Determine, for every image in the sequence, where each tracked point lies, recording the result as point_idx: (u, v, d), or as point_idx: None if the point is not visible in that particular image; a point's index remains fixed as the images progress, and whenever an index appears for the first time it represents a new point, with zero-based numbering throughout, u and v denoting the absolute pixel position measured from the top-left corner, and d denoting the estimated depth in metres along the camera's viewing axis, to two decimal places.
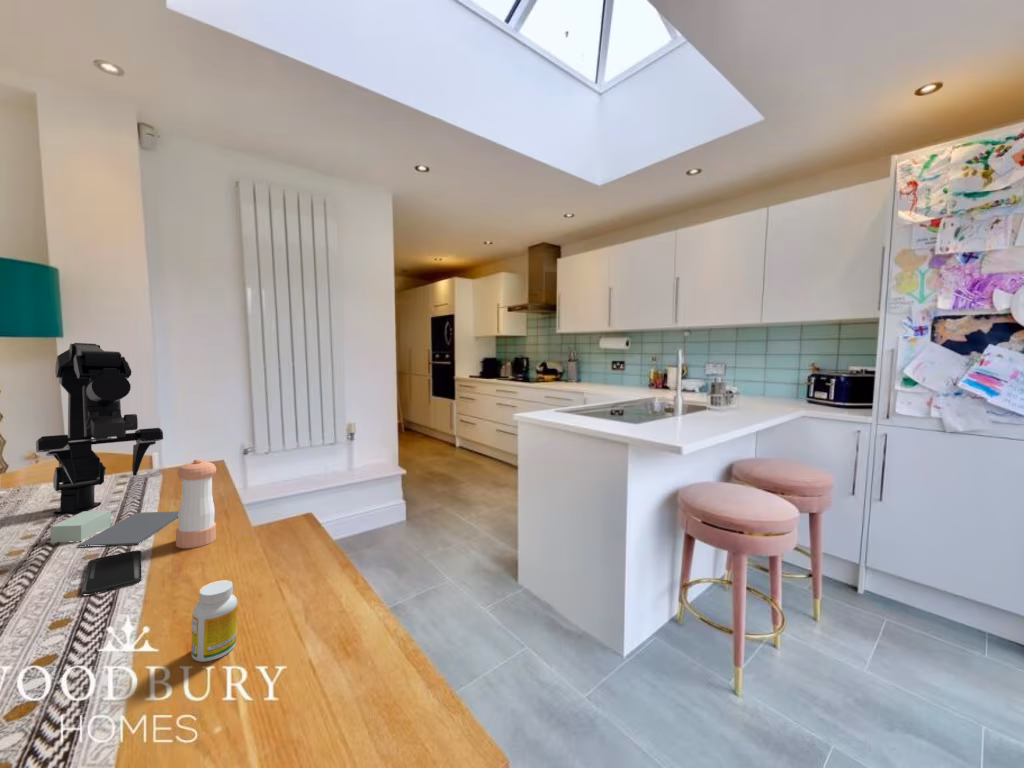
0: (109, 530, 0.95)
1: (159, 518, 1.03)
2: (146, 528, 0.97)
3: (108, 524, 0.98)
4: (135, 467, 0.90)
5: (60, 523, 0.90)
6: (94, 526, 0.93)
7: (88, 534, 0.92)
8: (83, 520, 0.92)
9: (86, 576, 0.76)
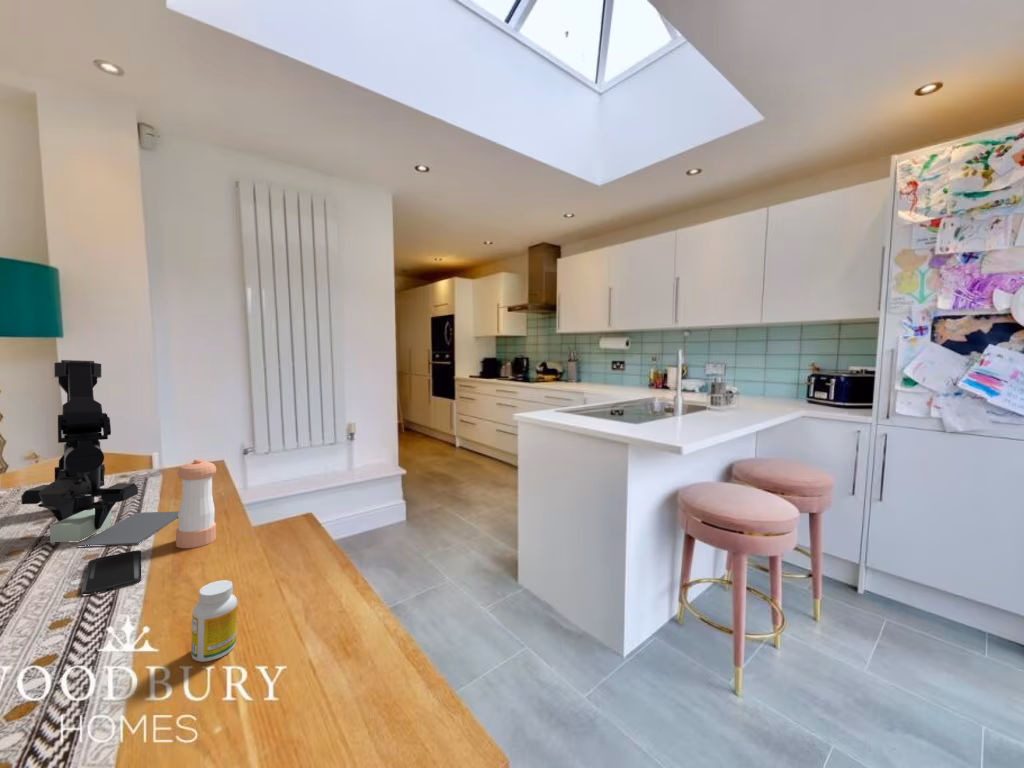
0: (109, 530, 0.95)
1: (159, 518, 1.03)
2: (146, 528, 0.97)
3: (108, 523, 0.98)
4: (95, 523, 0.93)
5: (60, 522, 0.90)
6: (93, 525, 0.93)
7: (87, 533, 0.92)
8: (83, 519, 0.92)
9: (86, 576, 0.76)
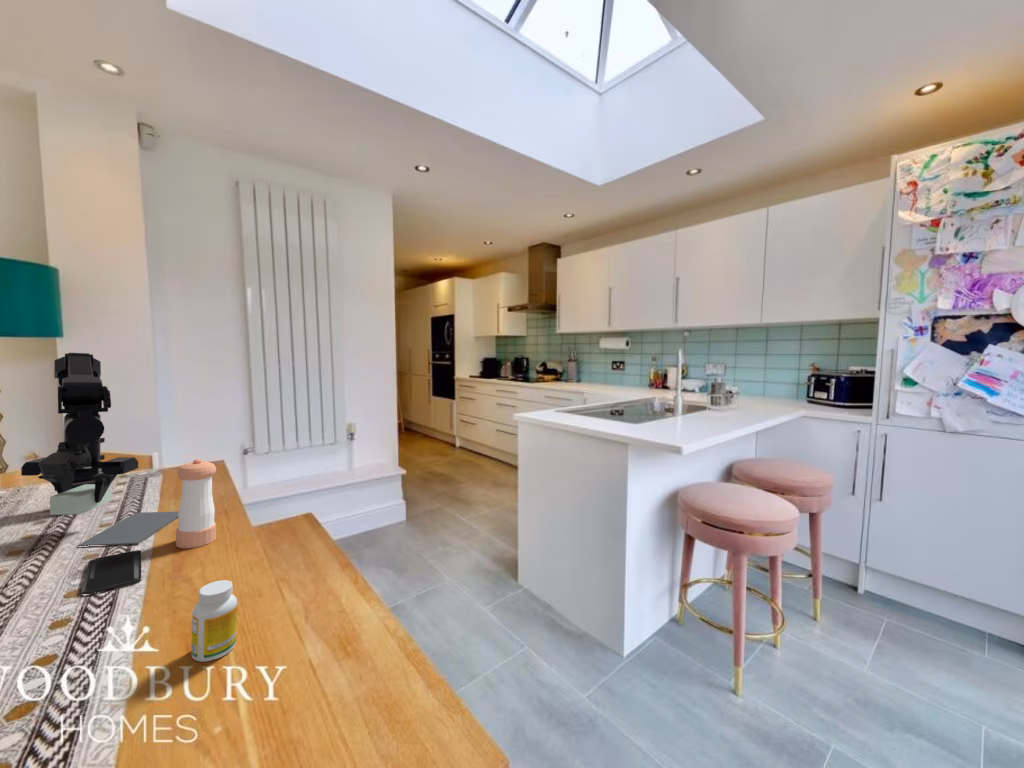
0: (109, 530, 0.95)
1: (159, 518, 1.03)
2: (146, 528, 0.97)
3: (108, 497, 0.97)
4: (95, 496, 0.93)
5: (60, 494, 0.90)
6: (94, 498, 0.93)
7: (87, 506, 0.91)
8: (83, 491, 0.92)
9: (86, 576, 0.76)
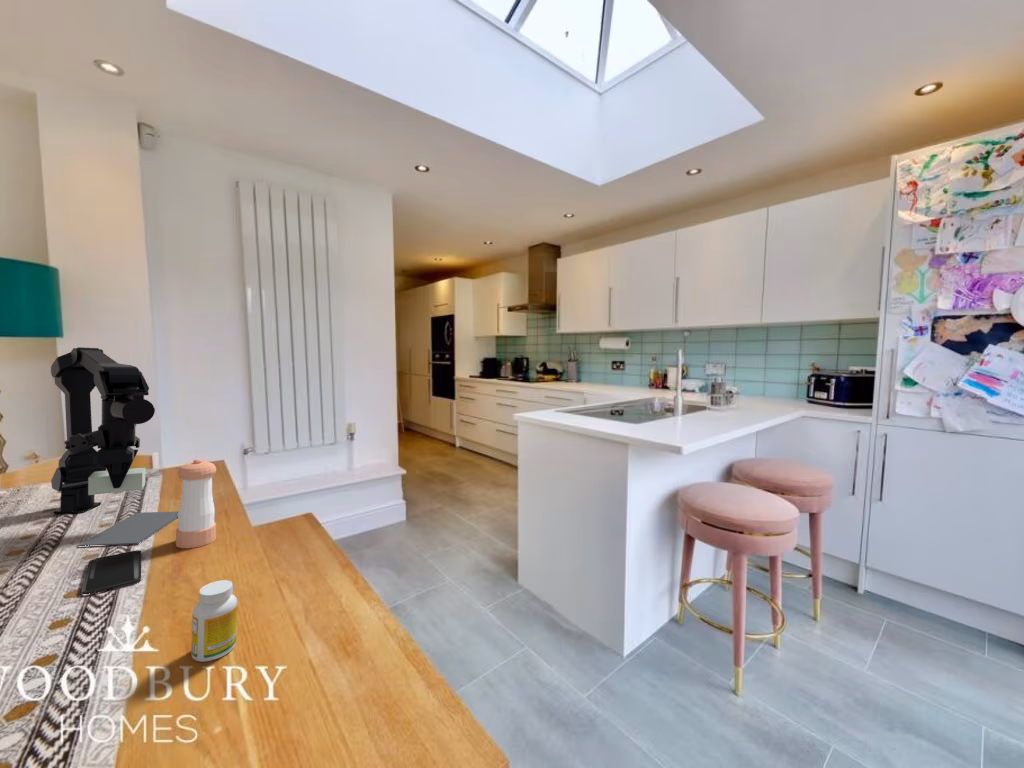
0: (109, 530, 0.95)
1: (159, 518, 1.03)
2: (146, 528, 0.97)
3: (137, 486, 0.96)
4: None
5: (102, 471, 0.95)
6: (111, 483, 0.93)
7: (101, 489, 0.92)
8: None
9: (86, 576, 0.76)
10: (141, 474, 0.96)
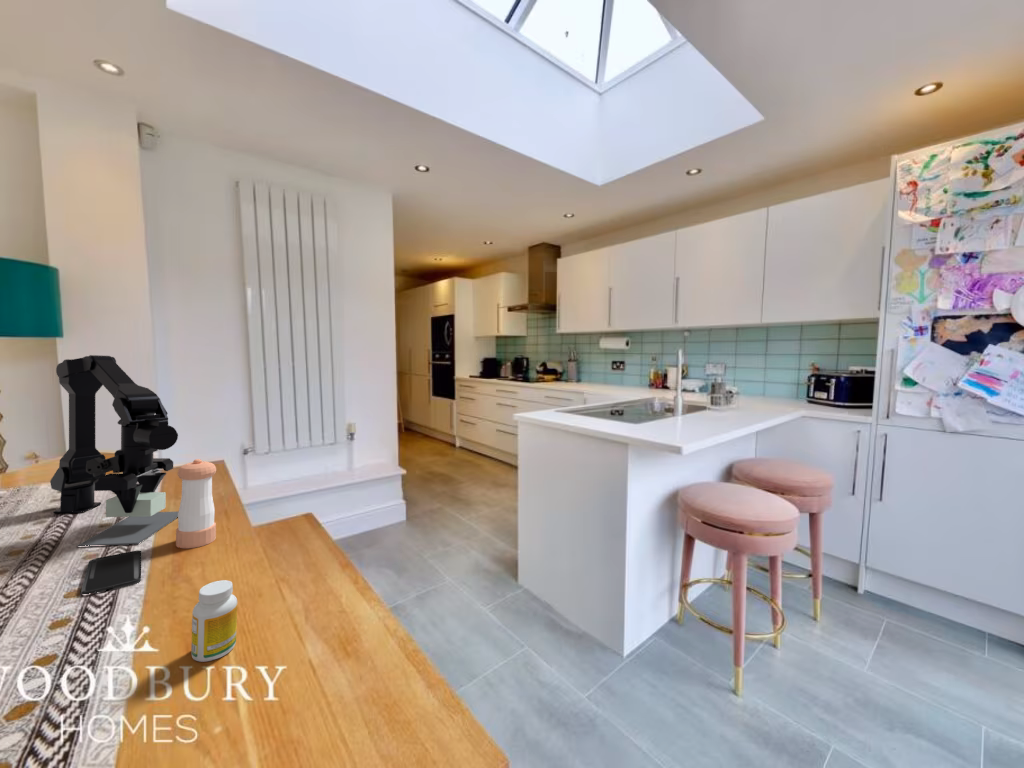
0: (109, 530, 0.95)
1: (159, 518, 1.03)
2: (146, 528, 0.97)
3: (146, 512, 0.96)
4: None
5: None
6: None
7: (116, 512, 0.94)
8: None
9: (86, 576, 0.76)
10: (150, 501, 0.96)
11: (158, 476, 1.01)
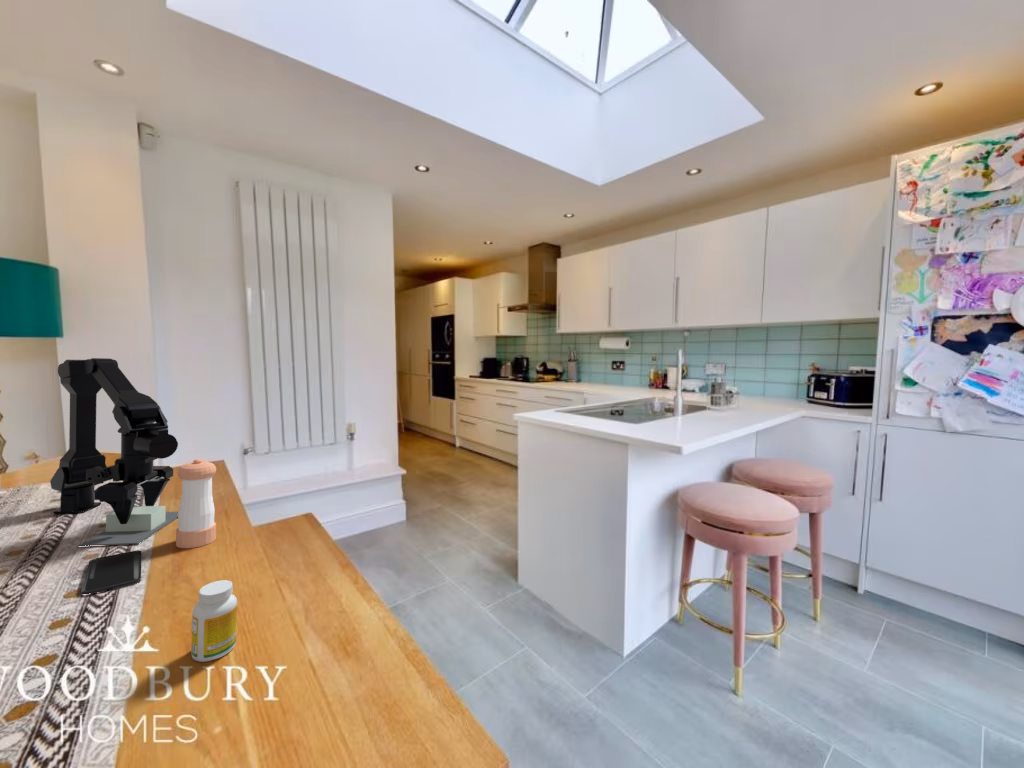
0: None
1: None
2: None
3: (146, 526, 0.96)
4: None
5: None
6: None
7: (116, 527, 0.94)
8: None
9: (86, 576, 0.76)
10: (150, 515, 0.96)
11: (162, 482, 1.03)
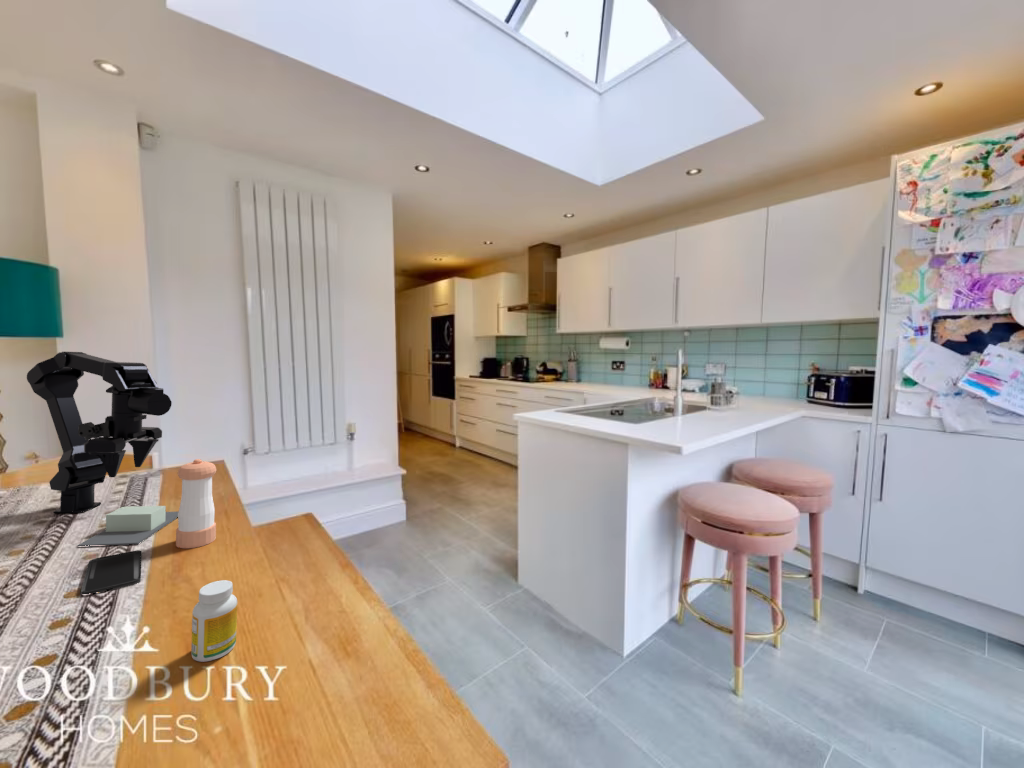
0: None
1: None
2: None
3: (146, 526, 0.96)
4: None
5: (128, 507, 0.99)
6: (125, 522, 0.95)
7: (116, 527, 0.94)
8: (127, 512, 0.96)
9: (86, 576, 0.76)
10: (150, 515, 0.96)
11: (151, 442, 1.09)
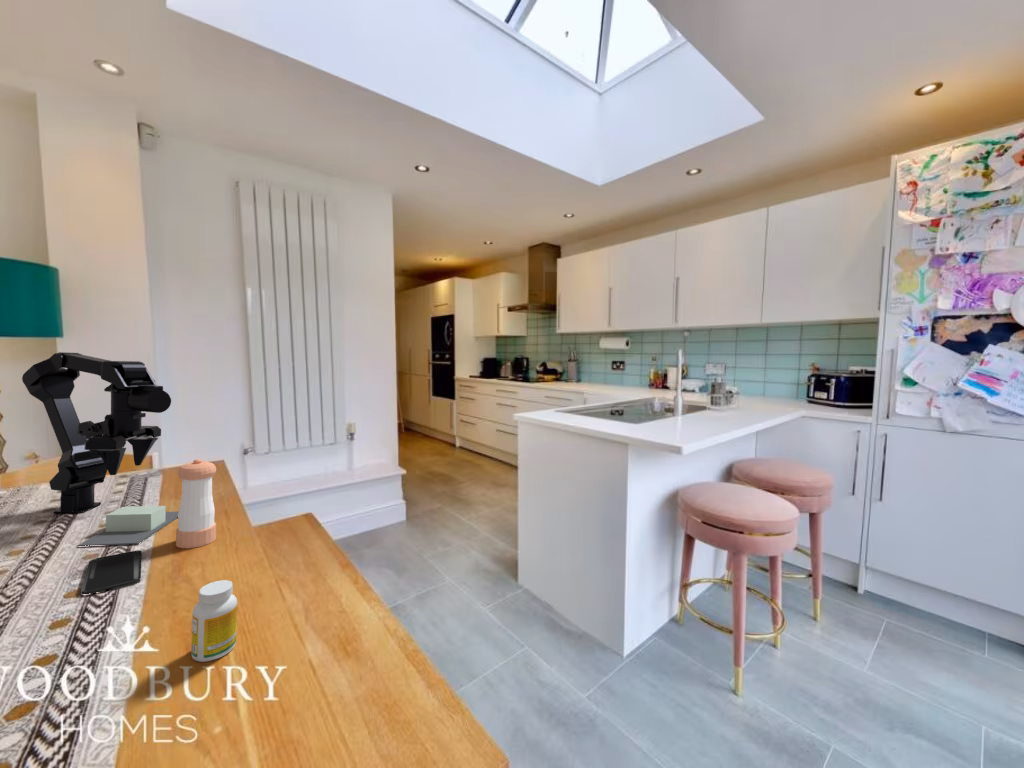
0: None
1: None
2: None
3: (146, 526, 0.96)
4: None
5: (128, 507, 0.99)
6: (125, 522, 0.95)
7: (116, 527, 0.94)
8: (127, 512, 0.96)
9: (86, 576, 0.76)
10: (150, 515, 0.96)
11: (150, 440, 1.09)
